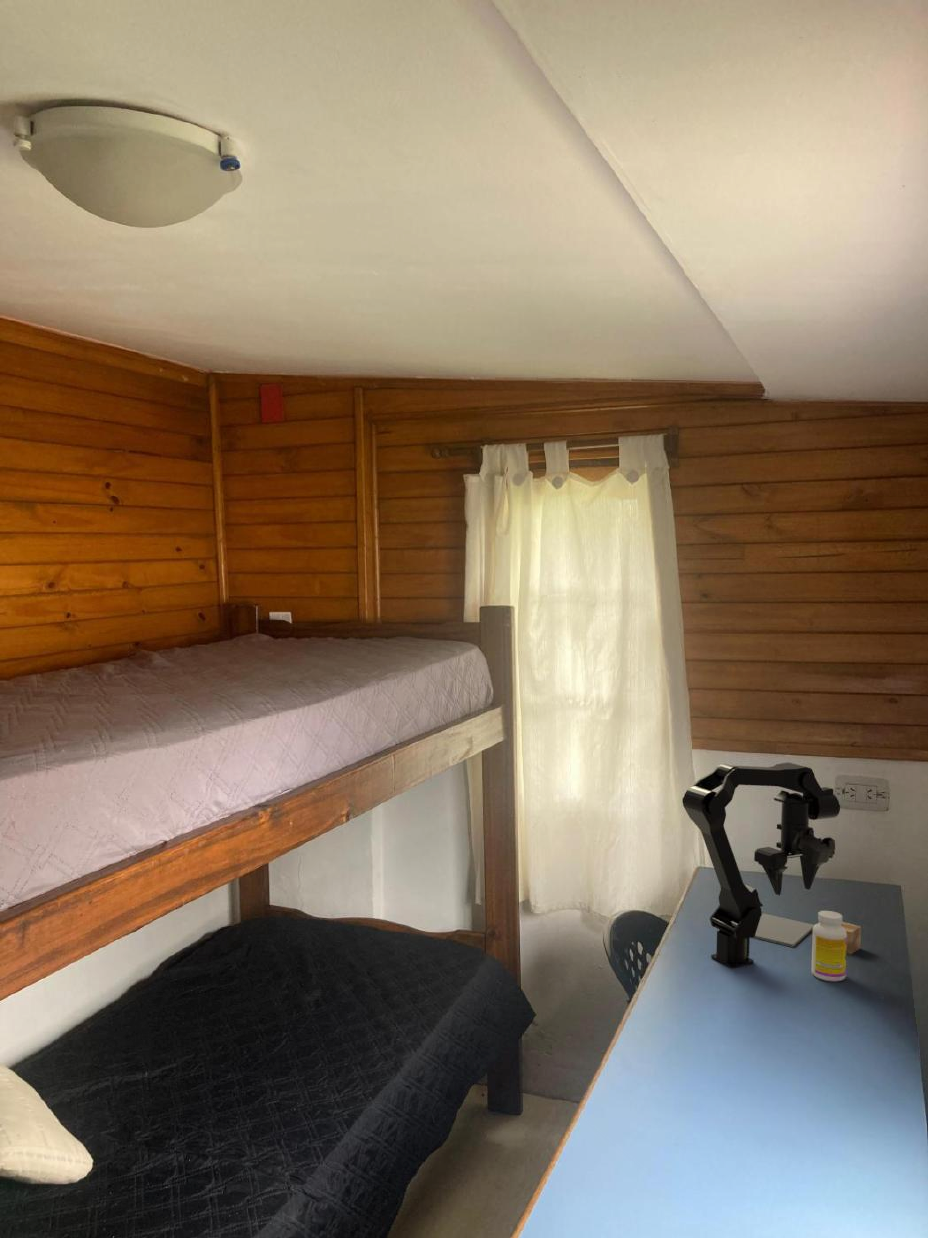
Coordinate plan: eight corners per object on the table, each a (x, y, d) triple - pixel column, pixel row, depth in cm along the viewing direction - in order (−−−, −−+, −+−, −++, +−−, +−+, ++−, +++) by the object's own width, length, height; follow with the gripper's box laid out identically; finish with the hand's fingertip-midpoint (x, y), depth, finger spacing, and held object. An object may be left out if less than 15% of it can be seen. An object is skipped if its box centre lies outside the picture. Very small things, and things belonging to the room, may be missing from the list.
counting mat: (793, 947, 210) (793, 944, 210) (723, 930, 220) (723, 928, 220) (814, 927, 223) (815, 925, 223) (748, 912, 233) (748, 910, 233)
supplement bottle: (850, 983, 191) (852, 920, 191) (817, 982, 191) (819, 919, 191) (838, 970, 198) (840, 909, 198) (806, 969, 198) (808, 908, 198)
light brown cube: (850, 954, 207) (851, 932, 207) (828, 948, 210) (829, 926, 210) (860, 949, 210) (861, 926, 210) (838, 942, 214) (838, 921, 214)
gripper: (793, 834, 196) (791, 909, 196) (854, 825, 205) (852, 896, 205) (753, 822, 206) (751, 893, 206) (813, 814, 215) (811, 882, 215)
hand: (792, 892), depth 208 cm, fingers open, 9 cm apart
